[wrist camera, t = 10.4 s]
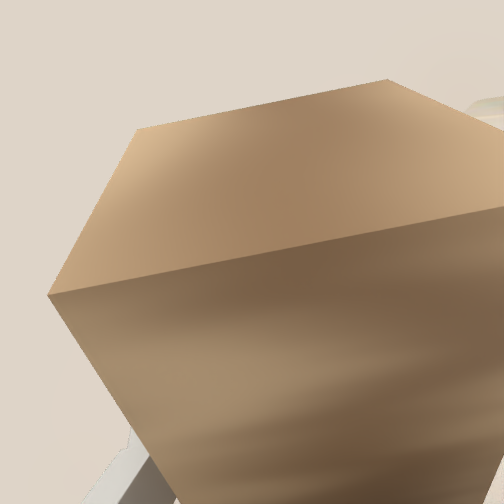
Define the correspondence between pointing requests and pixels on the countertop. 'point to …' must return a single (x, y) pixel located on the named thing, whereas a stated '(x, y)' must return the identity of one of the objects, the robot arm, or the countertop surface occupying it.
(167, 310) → the brown wooden block
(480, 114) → the countertop surface
